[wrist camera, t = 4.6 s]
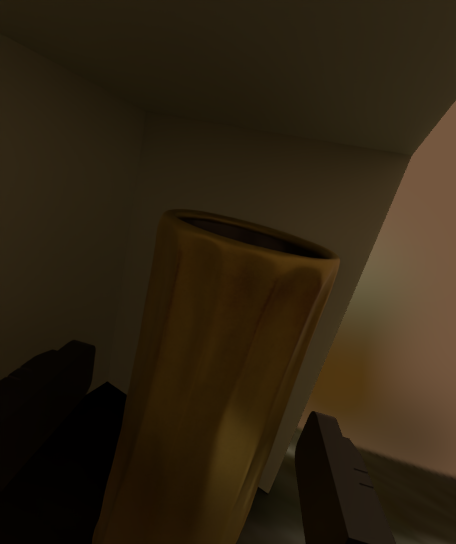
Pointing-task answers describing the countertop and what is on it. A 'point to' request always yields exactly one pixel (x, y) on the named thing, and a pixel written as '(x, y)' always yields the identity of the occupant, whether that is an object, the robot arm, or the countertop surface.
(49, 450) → the countertop surface
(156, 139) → the shelf nook
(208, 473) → the vase
